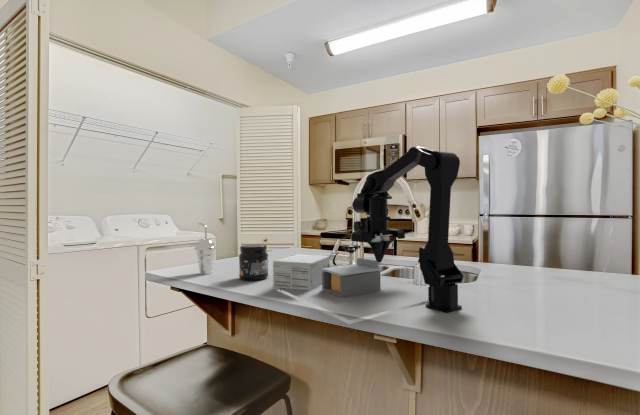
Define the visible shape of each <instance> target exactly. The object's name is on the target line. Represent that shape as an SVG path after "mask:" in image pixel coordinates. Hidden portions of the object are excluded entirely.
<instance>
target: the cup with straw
mask: <svg viewBox="0 0 640 415" xmlns="http://www.w3.org/2000/svg"><path fill="white" fill-rule="evenodd" d="M198 225H200V226H201V227H202V226H203V227H204V238H202V239H200V240H199V241H198V242H197V243H196V246H195V247H194V249H193V250H194V251H196V256H197V260H198V270H199V275H202V274H206V275H211V274H213V272H212V271H213V269H214V268H213V266H214V257H215V252H216V250H217V246H216V245H215V242H214V241H213V240H212V239H210V238H208V234H207V233H208V231H207V230H208V228H207V224H204V223H201V222H198ZM210 273H211V274H210Z"/></svg>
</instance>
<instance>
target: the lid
mask: <svg viewBox="0 0 640 415" xmlns="http://www.w3.org/2000/svg"><path fill="white" fill-rule="evenodd" d="M322 271H326V272H329V273H333V274H336V275H340V276H346V275H352V274H359V273H365V272H372V271H381V267H379V263H378V261H376V259H375V260H374V259H369V258H364V257H357V258H356V263H355V264H351V265H347V264H344V265H339V266H331V267H330V266H329V268H322Z"/></svg>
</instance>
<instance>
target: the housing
mask: <svg viewBox="0 0 640 415" xmlns="http://www.w3.org/2000/svg"><path fill="white" fill-rule="evenodd" d="M381 287H382V286H381V270H378V271H371V272H366V273H360V274H353V275H347V276H341V277H340V293H339V292H336V291H333V290H331V273H329V272H326V271H322V284H321V290H322V291H323V292H324V293H325V292H326V293H328V294H330V295H334V296H336V297H339V298H342V299H344V298H348V297H353V296H354V297H355V296H357V295H363V294H369V293H373V292H379V291H381V290H382V289H381Z"/></svg>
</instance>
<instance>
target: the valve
mask: <svg viewBox="0 0 640 415" xmlns="http://www.w3.org/2000/svg"><path fill="white" fill-rule="evenodd" d="M341 249H342V250H345V252H347V253H348V254H349V255H348V262H346V265H351V264H356V263H355V262H354V255H353V254H354V253H356V251H357V250H359V249H361V245H358V244H354V245H353V244H343V245H341Z"/></svg>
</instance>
